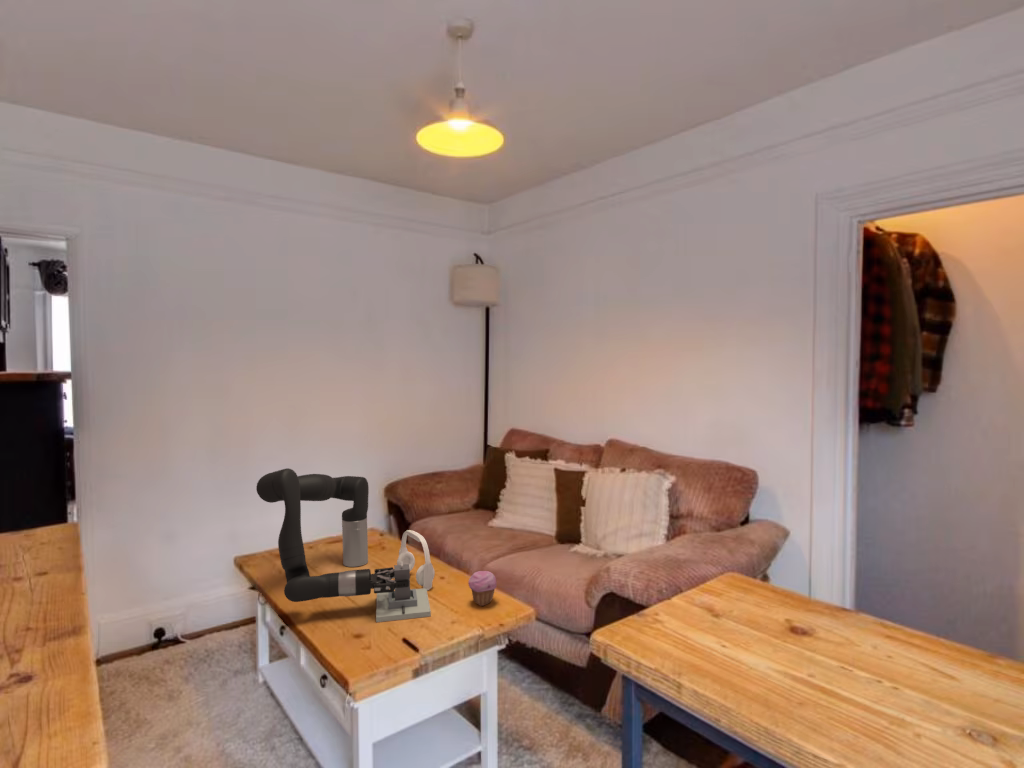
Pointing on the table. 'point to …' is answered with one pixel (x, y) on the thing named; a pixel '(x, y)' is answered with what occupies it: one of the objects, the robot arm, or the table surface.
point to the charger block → (400, 574)
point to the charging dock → (402, 606)
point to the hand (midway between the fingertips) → (408, 577)
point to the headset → (425, 571)
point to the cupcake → (482, 587)
